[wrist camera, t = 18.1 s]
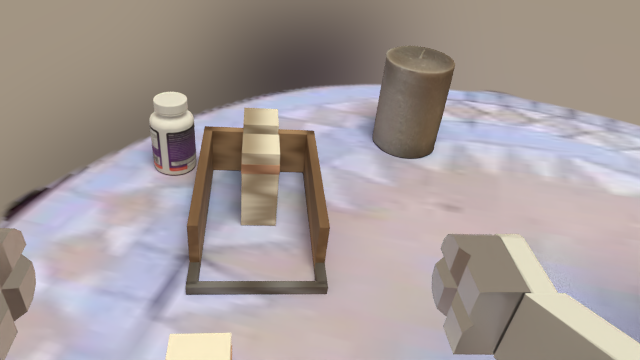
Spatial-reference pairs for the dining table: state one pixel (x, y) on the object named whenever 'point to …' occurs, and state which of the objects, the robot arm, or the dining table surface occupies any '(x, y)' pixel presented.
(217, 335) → the banded cream pillar
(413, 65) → the pillar candle
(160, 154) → the pill bottle
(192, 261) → the dispenser
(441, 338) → the dining table surface
